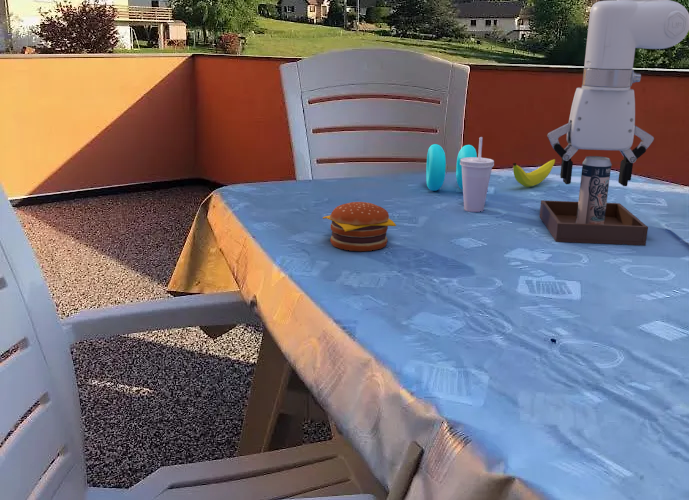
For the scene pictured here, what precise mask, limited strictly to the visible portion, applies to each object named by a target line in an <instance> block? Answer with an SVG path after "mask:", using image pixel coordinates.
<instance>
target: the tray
mask: <svg viewBox="0 0 689 500" xmlns="http://www.w3.org/2000/svg"><path fill="white" fill-rule="evenodd" d="M577 209H578V201H569V200H567V201H566V200H565V201H564V200H542V199H541V200H540V207H539V218H540V219H541V221H542V223H543V224H544V226H545V228H546V229H547V230H548V232H549V233H550V235H551V236H552V238H553V240H554V241H555V242H557V243H581V244H601V245H602V244H603V245H622V244H627V245H626V246H646V245H647V238H648V231H649V226H648V225H646V224H645V223H644V222H643V221H641V220H640V219H639V218H638V217H636V216H635V214H633V213H632V212H631V211H630V210H628V209H627V207H625V206H624V205H623V204H621V202H607V203H606V211H605V219H604V224H580V223H576V218H577Z"/></svg>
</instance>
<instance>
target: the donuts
mask: <svg viewBox="0 0 689 500" xmlns="http://www.w3.org/2000/svg"><path fill="white" fill-rule="evenodd" d="M468 157H478V153H477V149H476V148H475V147H474V146H473V145H472V144H465V145H463V146H462V147H461V148H460V150H459V151H458V154H457V158H456V163H455V164H456V165H455V166H456V167H455V177H456V184H457V186H458V188H459V189H460V190H461V191H463V182H462V165H460V160H461V159H462V158H468ZM425 166H426V167H425V169H426V170H425V179H426V180H425V181H426V182H425V183H426V186H427V188H428V189H429V190H430V191H432V192H436V191H439V190H440V189H441V188H442V186H443V185H444V183H445V178H446V170H447V169H446V167H447V160H446V153H445V150H444V148H443V147H442V146H441V144H437V143H434V144H431V145H430V146H429V147H428V149H427V154H426V165H425Z"/></svg>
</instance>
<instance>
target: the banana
mask: <svg viewBox="0 0 689 500" xmlns="http://www.w3.org/2000/svg"><path fill="white" fill-rule="evenodd" d="M555 163H556V159H555V158H554V159H550V160H549V161H547V162H546V163H544V164H543V165H541V166H539V167H538V168H536V169H534V170H532V171H529V172H526V171H525V170H524V169H523V168H522V167H521V166H519V165H517V162H513V163H512V165H513V167H512V172H513V176H514V179H515V180H516V182H517V183H518V184H520V185H522V186H523V187H526V188H531V187H533V186H536V185H540V184H541V183H542V182H543V181H545V179H546V178H548V176H550V175H549V174H551V172H552V169H553V168H554V166H555Z"/></svg>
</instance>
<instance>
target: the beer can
mask: <svg viewBox="0 0 689 500" xmlns="http://www.w3.org/2000/svg"><path fill="white" fill-rule="evenodd" d="M612 166H613V164H612V161H611V159H610V157H606V156H601V155H600V156H598V155H588V156H585V158H584V160H583V161H582V165H581V175H580V184H579V194H578V201H577V202H578V209H577V218H576V223H580V224H604V219H605V211H606V203H608V196H609V188H610V180H611V179H610V178H611V171H612V170H611V169H612Z"/></svg>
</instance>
